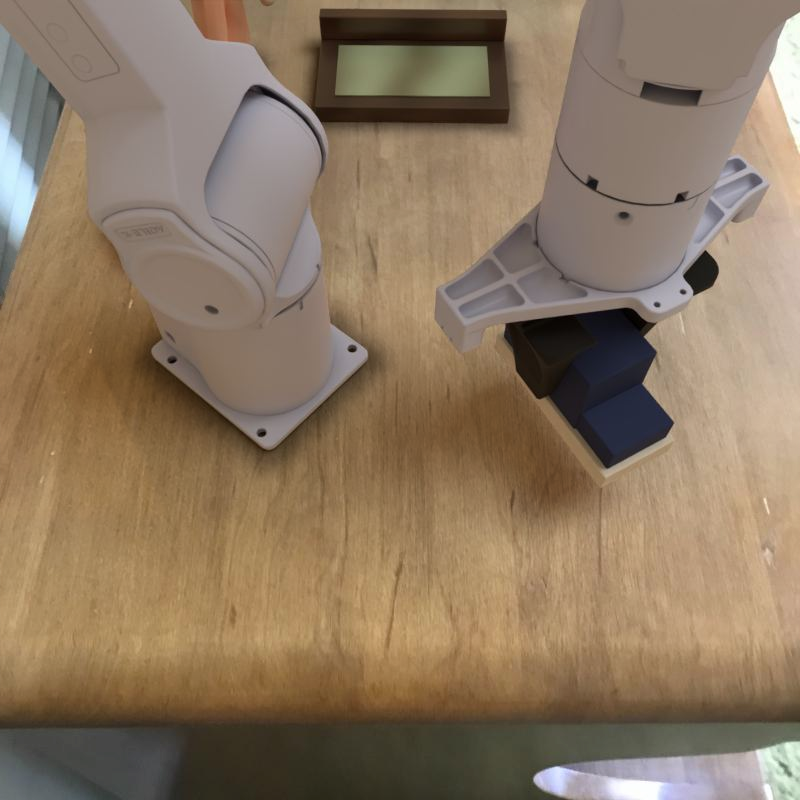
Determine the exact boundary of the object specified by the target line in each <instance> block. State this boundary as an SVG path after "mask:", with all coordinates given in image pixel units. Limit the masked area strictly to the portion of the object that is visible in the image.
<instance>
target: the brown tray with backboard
mask: <svg viewBox="0 0 800 800" xmlns="http://www.w3.org/2000/svg"><path fill="white" fill-rule="evenodd" d="M507 11H508V10H507V9H447V8H446V9H443V8H442V9H438V8H437V9H433V8H432V9H431V8H428V9H426V8H425V9H424V8H421V9H420V8H319V15H318V19H319V20H318V21H319V31H320V49H319V58H318V70H317V79H316V91H315V99H314V100H315V101H314V114H315V115H316V116H317V118H318V119H319V121H320V122H386V123H387V122H389V123H391V122H392V123H394V122H395V123H398V122H400V123H493V124H494V123H497V124H499V123H500V124H501V123H502V124H503V123H505V124H507V123H509V119H510V111H511V105H510V104H511V103H510V93H509V92H510V91H509V80H508V67H507V55H506V43H505V42H506V41H505V40H506V34H507V33H506V32H507V25H508V12H507Z"/></svg>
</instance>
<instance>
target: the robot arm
mask: <svg viewBox="0 0 800 800" xmlns="http://www.w3.org/2000/svg"><path fill="white" fill-rule="evenodd" d="M798 14H800V0H585V2H584V4H583V6H582V9H581V12H580V15H579V21H578V25H577V31H576V35H575V40H574V45H573V50H572V55H571V58H570V59H571V60H570V64H569V68H568V73H567V78H566V83H565V89H564V93H563V98H562V103H561V107H560V111H559V116H558V120H557V121H558V122H557V126H556V129H555V134H554V139H553V143H552V149H551V153H550V159H549V163H548V168H547V173H546V177H545V182H544V187H543V192H542V197H541V200H540V201H539V202H538V203H537V204H536V205H534V207H533V208H531V209H530V210H529V211H528V212H527V213H526V214H525V215H524V216H523V217H522V218H521V219H520V220H519V221H518V222H517V223H515V225H514V226H512V227H511V228H510V229H509V230H508V231H507V232H506V233H505V234H504V235H503V236H502V237H501V238H500V239H498V241H496V242H495V244H493V245H492V246H491V247H490V249H488V250H487V251H486V252H485V253H484V254H483V255H482V256H481V257H480V258H479V259H478V260H477V261H476V262H475V263H473V264H472V265H471V266H470V267H468V269H466V270H465V271H464V272H462V273H460V275H458V276H456V277H455V278H453V279H451V280H450V281H447V282H445V283H444V284H442V285H440V286H437V287H436V289H435V302H434V316H433V318H434V321H435V322H436V324H437V325H438V326H439V327H440V329H441V331H442V333H443V334H444V335H445V337H446V338H447V339H448V341H449V342H450V343H451V345H452V346H453V347H454V349H455V350H456V351H457V353H458V354H459V355H463V354H466V353H467V352H470V351H472V350H473V349H476V348H478V347H480V346H481V345H482V344H483V343H482V342H483V337H484V333H485V331H486V330H487V329H488V328H491V327H494V326H499V325H505V326H506V327H507V330H508V333H509V336H510V340H511V343H512V348H513V353H514V359H515V367H516V372H517V373H518V374H519V376H520V377H521V378H522V380H523V381H524V382H525V384H526V385H527V386H528V388H529V389H530V390H531V392H532V393H533V394H534V396H535V397H536V398H537V399H539V400H540V399H542V398H544V397H546V396H548V395H550V394H551V393H552V392H554V391H555V389H556V388H557V387H558V385H559V384H560V382H561V380H562V378H563V375H564V373H565V371H566V369H567V367H568V366H569V364H570V363H571V362H572V361H573V359H574V358H575V357H576V356H577V355H578V354H579V353H581V352H582V351H583V350H585V349H587V348H589V347H591V346H594V345H596V344H598V343H599V342H598V341H597V340H596V339H595V338H594V336H593V335H592V334H591V333H590V332H589V330H588V329H587V328H586V327H585V326H584V324H583V323H582V322H581V321H580V319H579V318H578V317H577V316H576V315H575V314H579V313H587V312H595V311H602V310H610V309H618V308H619V309H620V310H621V311H622V312H623V313H624V314H625V315H626V317H627V318H628V319H629V320H630V321H631V322H632V324H633V325H634V326H635V327H636V328H637V329H638V331H639V332H640V333H641V334H642V335H643V336H644V337H646V335H647V334H648V333H649V332H650V331H651V330H652V329H653V328H654V327H655V326H656V325H657V324H658V323H661V322H663V321H665V320H667V319H669V318H672V317H674V316H675V315H677V314H679V313H681V312H683V311H684V310H686V309H687V308H688V307H689V305H690V303H691V301H692V299H693V298H694V297H695V296H697V295H699V294H700V293H703V292H705V291H707V290H709V289H711V288H712V287H714V285H715V283H716V281H717V280H718V277H719V274H720V268H719V264H718V262H717V261H716V259H715V258H714V257H713V256H712V255H711V253H709V252H708V251H707V249H708V247H709V246H710V245H711V244H713V242H714V241H715V240H716V238H717V237H718V236H719V235H720V234H721V232H723V230H724V229H726V227H727V226H728V225H729V224H730V223H731V222H732V223H735V224H740V223H742V222H744V221H746V220H748V219H750V218H753V217H754V216H755V215H756V212H757V210H758V209H759V206H760V205H761V203H762V201H763V199H764V197H765V195H766V193H767V192H768V190H769V188H770V186H771V182H770V181H769V180H768V179H767V178H766V177H765V176H763V174H761V172H759V171H758V170H757V169H756V168H755V167H754V166H753V165H752V164H751V163H750V162H749V161H748V160H747V159H746V158H744V157H743V156H742V155H741V154H740V153H735V154H733V155H731V154H732V151H733V150H734V147H735V145H736V142H737V140H738V138H739V135H740V134H741V131H742V129H743V127H744V125H745V122H746V121H747V118H748V116H749V114H750V111H751V110H752V107H753V105H754V103H755V100H756V98H757V96H758V94H759V92H760V89H761V87H762V85H763V83H764V80H765V78H766V77H767V74H768V72H769V70H770V67H771V65H772V64H773V63H772V62H773V61H774V59H775V56H776V53H777V48H778V44H779V43H778V42H779V39H780V37H781V34H782V32H783V30H784V28H785V25H786V23H787V21H788V20H789V19H791V18H793V17H795V16H796V15H798ZM0 25H1V26H2V27H3V28H4V30H5V31H6V32H7V33H8V34H9V35H10V37H12V39H13V40H14V41H15V43H16V44H18V46H19V47H20V48H21V49H22V50H23V52H24V53H25V54H26V56H27V57H28V58H29V59H30V60H31V61H32V63H34V65H35V66H36V67H37V68H38V70H39V71H40V72H41V73H42V74H43V75H44V77H45V78H46V79H47V80H48V81H49V83H51V85H52V86H53V87H54V89H55V90H56V91H57V92H58V93H59V95H60V96H61V97H62V98H63V99H64V100H65V101H66V103H67V104H68V105H69V106H70V107H71V108H72V110H73V111H74V113H76V115H77V116H78V117H79V118H80V119H81V121H82V122H83V126H84V133H85V153H86V154H85V160H86V161H85V163H86V164H85V165H86V167H85V168H86V203H87V212H88V217H89V220H90V221H91V222H92V223H93V224H94V225H95V226H96V227H97V228H98V229H99V230H100V231H101V232H102V234H103V235H104V236H105V237H106V238H107V239H108V240H109V241H110V243H111V245H112V246H113V247H114V249H115V251H116V253H117V255H118V257H119V261H120V264H121V267H122V270H123V271H124V274H125V276H126V277H127V279H128V280H129V282H130V283H131V284H132V286H133V287H134V288H135V289H136V291H137V292H138V293H139V294H140V296H141V297H142V298H143V299H144V300H145V301H146V303H147V306H148V308H149V310H150V312H151V315H152V318H153V319H154V321H155V324H156V326H157V329H158V331H159V333H160V336H161V339H160V340H159V341H158V342H156V343H155V344H154V345H153V346H152V347H151V351H150V352H151V355H152V357H153V358H154V360H155V361H157V362H158V364H160V365H161V366H162V367H164V368H165V369H166V370H167V371H168V372H170V373H171V374H172V375H173V376H174V377H176V378H177V379H178V380H179V381H181V382H182V383H183V384H184V385H186V386H187V387H188V388H189V389H190V390H192V391H193V392H194V393H195V394H197V396H199V397H201V399H203V400H204V401H205V402H206V403H207V404H209V405H210V406H211V407H212V408H214V409H215V410H216V411H217V412H218V413H219V414H221V415H222V416H223V417H224V418H226V419H227V421H229V422H230V423H231V424H232V425H234V426H235V427H236V428H238V429H239V431H241V432H243V433H244V434H245V435H246V436H247V437H248V438H249V439H251V440H252V441H254V443H256V444H257V445H258V446H259V447H260V448H261V449H263V450H266V451H270V450H274V449H275V448H276V447H278V446H279V445H280V444H281V443H282V442H283V441H284V440H285V439H287V437H288V436H290V434H291V433H292V432H294V431H295V430H296V429H297V428H298V427H299V426H300V425H301V424H302V423H303V422H304V421H305V420H306V419H307V418H309V417H310V415H312V414H313V412H314V411H316V410H317V409H318V408H319V407H320V406H321V405H322V404H323V403H325V402H326V400H327V399H329V398H330V397H331V396H332V395H333V393H335V392H336V391H337V390H338V389H339V388H340V387H341V386H342V385H343V384H344V383H345V382H346V381H348V379H349V378H351V377H352V376H353V375H354V374H355V373H356V372H357V371H358V370H359V369H360V368H362V366H363V365H364V364H365V363H366V362H367V361H368V359H369V352H368V350H367V349H366V347H364V346H362V345H361V344H360V343H359V342H357V341H356V340H354V339H353V338H352V337H350V336H349V335H347V334H346V333H345V332H343V331H342V330H341V329H339V328H338V327H336V326H335V325H333V324H332V323H331V317H330V309H329V301H328V293H327V292H328V291H327V283H326V276H325V269H324V268H325V267H324V260H323V249H322V242H321V237H320V233H319V231H318V227H317V225H316V223H315V220H314V217H313V214H312V205H311V196H312V194H313V191H314V188H315V186H316V183H318V180H319V179H320V178H321V176H322V175H323V173H324V172H325V170H326V168H327V165H328V161H329V152H330V151H329V150H330V146H329V141H328V135H327V133H326V131H325V128H324V126H323V124H322V123H321V121H319V119H318V118H317V116H316V114H315V112H314V111H313V109H311V107H309V106H308V105H307V104H306V103H305V102H304V101H303V100H302V99H301V98H299V97H298V96H297V95H296V94H294V93H293V92H292V91H290V90H289V89H288V88H286V87H285V86H284V85H283V84H282V83H280V82H279V81H278V79H276V77H275V76H274V75H273V74H272V73H271V71H270V70H269V69H268V67H267V65H266V64H265V63H264V61H263V59H262V58H261V56H260V55H259V53H258V51H257V50H256V48H255V47H254V46H253V45H251V44H250V45H249V44H246V43H240V42H229V41H217V40H209V39H206V38H204V37H203V35H202V33H201V32H200V30H199V29H198V27H197V26H196V24H195V22H194V19H193V17H191V15H190V13H189V12H188V10H187V9H186V7H185V6H184V4H183V2H182V1H181V0H0ZM350 350H355V351H353V352H351V351H350ZM174 360H175V362H172V363H171V361H174ZM261 433H265V435H264V436H259V434H261Z"/></svg>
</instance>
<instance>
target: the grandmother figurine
mask: <svg viewBox="0 0 800 800" xmlns="http://www.w3.org/2000/svg"><path fill="white" fill-rule="evenodd" d="M275 1H276V0H259V2H260V3H261V4H262V6H264V7H271V6H272V5H274V3H275ZM190 5H191V11H192V16H193V17H192V18H193V21H194V23H195V24H196V26H197V27H198V29H199V30H200V32H201V33H202V35H203V37H204V38H206V39H209V40H217V41H229V42H240V43H246V44H249V45H251V39H250V29H249V28H250V27H249V21H248V17H247V12H246V9H245V5H244V1H243V0H190Z"/></svg>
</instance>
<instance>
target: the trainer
mask: <svg viewBox="0 0 800 800" xmlns="http://www.w3.org/2000/svg"><path fill="white" fill-rule="evenodd" d="M575 315H576V316H577V317H578V318H579V319H580V321H581V322H582V323H583V324H584V326H585V327H586V328H587V329H588V330H589V332H590V333H591V334H592V335H593V336H594V338H595V339H596V340H597V341H598V342H599V343H598V344H596V345H594V346H591V347H589V348H587V349H585V350H583V351H582V352H581V353H579V354H578V355H577V356H576V357H575V358H574V359H573V361H572V362H571V363H570V364H569V366H568V367H567V369H566V371H565V373H564V375H563V378H562V380H561V382H560V384H559V385H558V387H557V388H556V389H555V391H554V392H552V393H551V394H550V395H548V396H546V397H544V398H542V399H540V400H539V399H537V398H536V397H535V396H534V394H533V393H532V392H531V390H530V389H529V388H528V386H527V385H526V384H525V382H524V381H523V380H522V378H521V377H520V376H519V374H518V373H517V372H516V367H515V359H514V353H513V348H512V343H511V340H510V336H509V333H508V330H507V327H506V325H505V327H504V330H502V331H501V332H499V333H497V334H496V337H495V343H494V349H495V350H496V351H497V353H498V354H499V355H500V358H501V359H503V361H504V362H505V363H506V365H507V366H508V368H509V369H510V370H511V372H512V373H513V374H514V376H515V377H516V378H517V380H518V381H519V382H520V383H521V385H522V386H523V388H524V389H525V390H526V392H527V393H528V394H529V396H530V397H531V398H532V400H533V401H534V402H535V404H536V405H537V406H538V408H539V409H540V410H541V412H542V413H543V414H544V416H545V417H546V418H547V420H548V421H549V422H550V424H551V425H552V427H553V428H554V429H555V431H556V432H557V433H558V435H559V437H561V439H562V440H563V442H564V443H565V444H566V445H567V446H568V448H569V449H570V450H571V452H572V453H573V454H574V456H575V457H576V459H577V460H578V462H579V463H580V464H581V465H582V467H583V468H584V469H585V471H586V472H587V474H588V475H589V477H590V478H591V479H592V480H593V481H594V483H595V484H596V486H597V487H598V488H599V489H602V488H604V487H606V486H608V485H609V484H612V483H613V482H615V481H617V480H619V479H621V478H622V477H624V476H626V475H628V474H630V473H631V472H633V471H635V470H637V469H639V468H640V467H642V466H644V465H646V464H648V463H651V461H653V460H655V459H657V458H659V457H661V456H662V455H665V454H666V453H668V452H669V450H670V449H671V447H672V445H673V444H674V442H675V438H674V437H673V435H672V434H671V433H670V431H671V430H672V428H673V427H674V425H675V421H674V420H673V419H672V418H671V416H670V415H669V414H668V413H667V412H666V411H665V409H664V408H663V406H662V405H661V404H660V403H659V402H658V401H657V400H656V399H655V397H654V395H652V394H651V392H650V391H649V390H648V389H647V387H646V386H645V385H644V384H643V383H644V381H645V379H646V377H647V375H648V373H649V370H650V368H651V366H652V365H653V362H654V360H655V358H656V357H657V354H658V351H657V350H656V349H655V348H654V346H653V345H652V344H651V343H650V342H649V341H648V340H647V338H646V336H643V335H642V334H641V333H640V332H639V331H638V329H637V328H636V327H635V326H634V325H633V324H632V322H631V321H630V320H629V319H628V318H627V317H626V315H625V314H624V313H623V312H622V311H621V310H620V309H619V308H618V309H610V310H602V311H595V312H587V313H579V314H575Z"/></svg>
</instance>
